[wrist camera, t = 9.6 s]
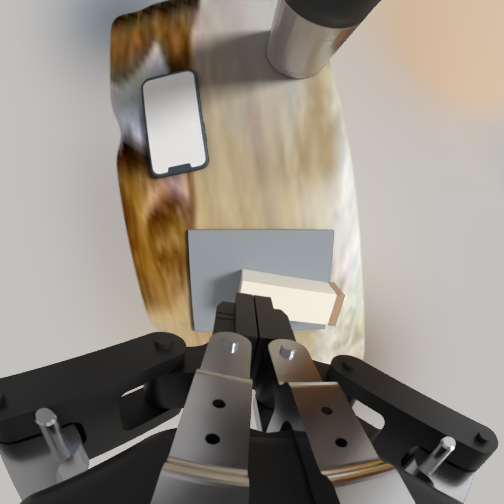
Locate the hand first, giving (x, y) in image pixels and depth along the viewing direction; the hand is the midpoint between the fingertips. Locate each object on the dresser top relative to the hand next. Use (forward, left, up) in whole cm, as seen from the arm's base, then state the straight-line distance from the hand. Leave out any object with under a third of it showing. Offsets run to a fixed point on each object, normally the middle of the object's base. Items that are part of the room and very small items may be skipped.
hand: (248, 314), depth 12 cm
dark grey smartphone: (-14, -10, -32) cm, 36 cm away
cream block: (+11, 0, -28) cm, 30 cm away
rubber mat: (+11, +3, -31) cm, 33 cm away
